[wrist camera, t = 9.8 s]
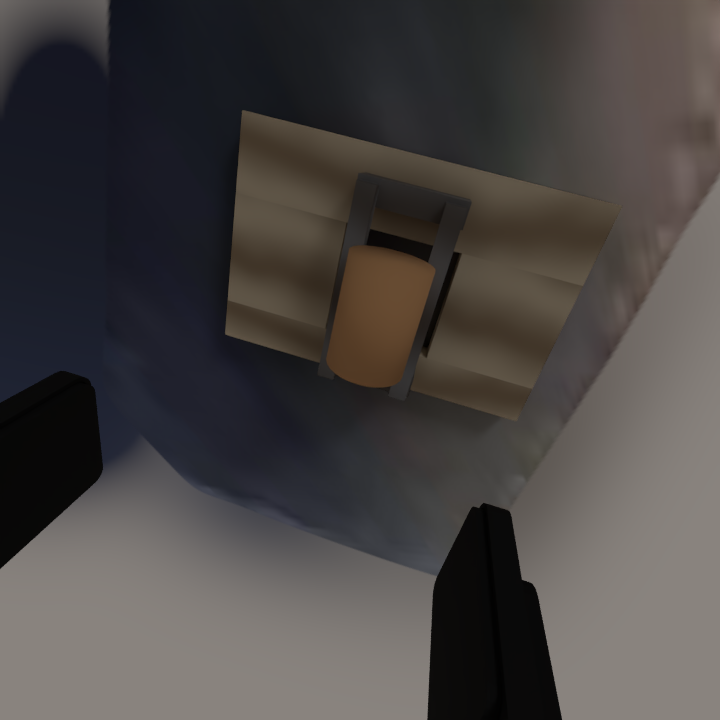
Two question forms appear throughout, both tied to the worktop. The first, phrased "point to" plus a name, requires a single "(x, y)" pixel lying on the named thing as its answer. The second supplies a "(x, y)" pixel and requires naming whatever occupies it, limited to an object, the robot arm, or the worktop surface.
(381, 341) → the tan cylinder
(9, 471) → the robot arm
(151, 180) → the worktop surface
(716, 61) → the worktop surface
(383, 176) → the wooden plate
